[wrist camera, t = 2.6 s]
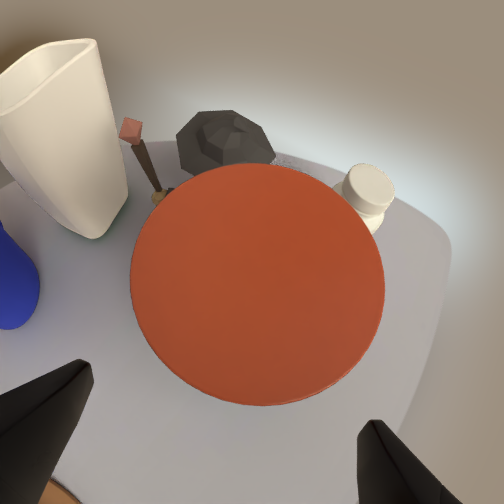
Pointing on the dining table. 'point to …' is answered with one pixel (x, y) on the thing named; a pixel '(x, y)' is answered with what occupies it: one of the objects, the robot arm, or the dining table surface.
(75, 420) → the robot arm
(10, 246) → the mug
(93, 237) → the cup
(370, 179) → the pill bottle
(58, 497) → the cork mat
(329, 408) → the dining table surface
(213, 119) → the wizard figurine
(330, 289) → the top tin
